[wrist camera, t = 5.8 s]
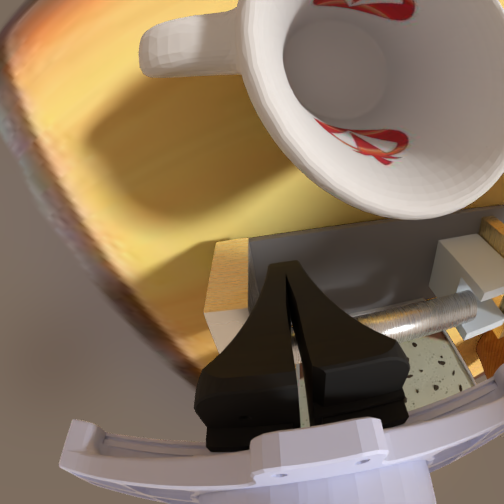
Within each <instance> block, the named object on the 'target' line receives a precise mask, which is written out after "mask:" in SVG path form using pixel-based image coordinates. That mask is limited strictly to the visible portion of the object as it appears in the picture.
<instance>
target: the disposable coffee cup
mask: <svg viewBox="0 0 504 504" xmlns="http://www.w3.org/2000/svg"><path fill="white" fill-rule="evenodd" d="M476 351H477V354H478V356H479V359H480V361H481V364H482V366H483V369H484V372H485V375H486V377H487V379H489V378H491V377H493V376H494V374H495V372H496V370H497V369H498V368H499V367H500V366H501V365H502V364H504V337H501V338H499V339H498V338H497V336H496V335H495V333H494V332H493V330H489V331H487V332H485V333H484V335H483V336H482V337H481V339H480V341H479V342H478V344H477V347H476ZM500 436H503V437H504V432H503V433H502V434H500Z"/></svg>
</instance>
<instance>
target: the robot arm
mask: <svg viewBox="0 0 504 504" xmlns="http://www.w3.org/2000/svg"><path fill="white" fill-rule="evenodd" d="M291 322H292V326H293V330H294V333H295V337H296V341H297V345H298V349H299V353H300V357H301V362H302V368H303V375H304V383H305V390H306V398H307V406H308V414H309V423H310V427H304V428H301V423H300V422H301V421H300V408H299V396H298V385H297V377H296V369H295V363H294V356H293V350H292V337H291ZM409 371H410V364H409V361H408V359H407V356H406V354H405V353H404V351H403V349H402V348H401V346H400V345H399V343H398V342H397V340H395V339H393V338H390V337H388V336H386V335H383V334H381V333H379V332H377V331H375V330H373V329H371V328H369V327H367V326H365V325H364V324H362V323H361V322H359V321H357V320H356V319H354V318H353V317H351V316H350V315H349V314H347V313H346V312H345V311H343V310H342V309H341V308H340V307H338V306H337V305H336V304H335V303H334V302H333V301H332V300H330V299H329V298H328V297H327V296H326V295H325V294H324V293H323V292H322V291H321V290H320V288H319V287H318V286H317V285H316V284H315V283H314V282H313V280H312V279H311V278H310V277H309V275H308V274H307V273H306V271H305V270H304V269H303V267H302V265H301V264H300V262H299V261H298V260H293V261H286V262H279V263H272V264H269V265H268V269H267V274H266V278H265V281H264V285H263V287H262V290H261V293H260V295H259V297H258V299H257V302H256V304H255V306H254V308H253V310H252V312H251V313H250V315H249V317H248V319H247V320H246V322H245V323H244V325H243V326H242V328H241V329H240V331H239V332H238V333H237V335H236V336H235V337H234V338H233V340H232V341H231V342H230V343H229V344H228V345H227V346H226V348H225V349H224V350H223V351H222V352H221V353H220V354H219V355H218V356H217V357H216V358H215V359H214V360H213V361H212V362H210V363H209V364H208V365H207V366H206V367H205V368H203V369H202V372H201V375H200V377H199V381H198V384H197V388H196V393H195V402H194V409H195V412H196V413H197V415H198V416H199V417H200V419H201V420H202V421H203V423H204V424H205V425H206V426H207V435H206V442H195V441H174V440H161V439H150V438H141V437H133V436H126V435H119V434H113V433H107V432H105V431H104V430H103V429H102V428H101V427H100V426H98V425H96V424H94V423H91V422H86V421H82V420H76V419H73V420H72V422H71V425H70V428H69V431H68V435H67V438H66V441H65V444H64V448H63V451H62V455H61V458H60V462H59V467H60V468H62V469H64V470H66V471H67V472H69V473H71V474H73V475H75V476H77V477H79V478H81V479H83V480H85V481H87V482H89V483H91V484H93V485H95V486H99V487H102V488H106V489H109V490H113V491H116V492H120V493H123V494H127V495H131V496H135V497H139V498H144V499H148V500H153V501H158V502H163V503H168V504H437V503H436V499H435V494H434V490H433V486H432V481H431V478H430V472H433V471H435V470H437V469H439V468H441V467H443V466H446V465H448V464H450V463H451V462H453V461H455V460H457V459H459V458H461V457H463V456H465V455H467V454H469V453H470V452H472V451H474V450H475V449H477V448H479V447H481V446H482V445H484V444H486V443H487V442H489V441H491V440H492V439H494V438H495V437H497V436H499V435H500V434H502V433H503V432H504V364H502V365H501V366H500V367H499V368H498V369H497V370H496V372H495V374H494V376H493V377H491V378H489V379H487V380H485V381H483V382H481V383H479V384H477V385H475V386H473V387H471V388H468V389H466V390H464V391H462V392H459V393H457V394H455V395H452V396H450V397H447V398H445V399H442V400H440V401H437V402H435V403H432V404H429V405H426V406H424V407H421V408H418V409H415V410H412V411H409V412H408V411H407V408H406V405H405V402H404V400H403V399H404V398H405V393H404V390H403V388H402V387H403V385H404V383H405V381H406V378H407V376H408V374H409Z"/></svg>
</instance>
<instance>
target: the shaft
mask: <svg viewBox="0 0 504 504" xmlns="http://www.w3.org/2000/svg"><path fill="white" fill-rule="evenodd" d="M258 297H259V290H258V285H257V280H256V275H255V270H254V265H253V260H252V255H251V249H250V244H249V239H248V237H247V238H240V239H234V240H227V241H220V242H216V245H215V251H214V256H213V261H212V267H211V272H210V278H209V283H208V289H207V294H206V300H205V306H204V312H203V313H204V316H205V319H206V321H207V324H208V327H209V329H210V332H211V334H212V337H213V339H214V342H215V345H216V347H217V350H218V352H219V354H220V353H221V352H222V351H223V350H224V349H225V348H226V346H227V345H228V344H229V343H230V342H231V341H232V340H233V338H234V337H235V336H236V335H237V333H238V332H239V331H240V329H241V328H242V326H243V325H244V323H245V322H246V320H247V319H248V317H249V315H250V313H251V312H252V310H253V308H254V306H255V304H256V302H257V299H258ZM476 315H477V301H476V298H475V296H474V294H473V293H472V292H471V291H470V290H464V291H461V292H457V293H454V294H450V295H446V296H443V297H439V298H435V299H431V300H427V301H423V302H419V303H415V304H411V305H407V306H402V307H398V308H393V309H389V310H384V311H379V312H375V313H370V314H365V315H360V316H354V317H353V318H354V319H356V320H357V321H359V322H361V323H362V324H364V325H365V326H367V327H369V328H371V329H373V330H375V331H377V332H379V333H381V334H383V335H386V336H388V337H390V338H393V339H395V340H397V342H398V343H402V342H406V341H410V340H413V339H417V338H420V337H424V336H427V335H431V334H434V333H437V332H441V331H444V330H447V329H450V328H453V327H456V326H459V325H462V324H465V323H468V322H471V321H473V320H474V319H475V317H476ZM291 337H292V350H293V356H294V363H295V364H298V363H302V362H301V357H300V353H299V349H298V345H297V341H296V337H295V333H294V330H293V327H291Z"/></svg>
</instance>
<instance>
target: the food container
mask: <svg viewBox="0 0 504 504" xmlns="http://www.w3.org/2000/svg"><path fill="white" fill-rule="evenodd" d="M423 301H426V300H425V298H424V297H423V298H419V299H415V300H411V301H406V302H402V303H398V304H394V305H389V306H385V307H380V308H375V309H371V310H366V311H361V312H356V313H351V314H349V315H350V316H351V317H354V316H360V315H365V314H370V313H375V312H379V311H384V310H389V309H393V308H398V307H402V306H407V305H411V304H415V303H419V302H423ZM399 345H400V346H401V348H402V349H403V351H404V353H405V354H406V356H407V359H408V361H409V364H410V371H409V374H408V376H407V378H406V381H405V383H404V385H403V387H402V388H403V390H404V393H405V398H404V399H403V400H404V402H405V405H406V408H407V411H408V412H409V411H412V410H415V409H418V408H421V407H424V406H426V405H429V404H432V403H435V402H437V401H440V400H442V399H445V398H447V397H450V396H452V395H455V394H457V393H459V392H462V391H464V390H466V389H468V388H471V387H473V386H475V385H477V383H476V381H475V379H474V377H473V375H472V374H471V372H470V370H469V368H468V367H467V365H466V363H465V361H464V360H463V358H462V356H461V354H460V353H459V351H458V349H457V348H456V346H455V344H454V343H453V341H452V340H451V338H450V336H449V335H448V333H447V332H446V330H444V331H441V332H437V333H434V334H431V335H427V336H424V337H420V338H417V339H413V340H410V341H406V342H402V343H399ZM296 377H297V385H298V396H299V408H300V421H301V422H300V423H301V428H304V427H310V423H309V414H308V406H307V398H306V390H305V383H304V375H303V368H302V363H298V364H296Z"/></svg>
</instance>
